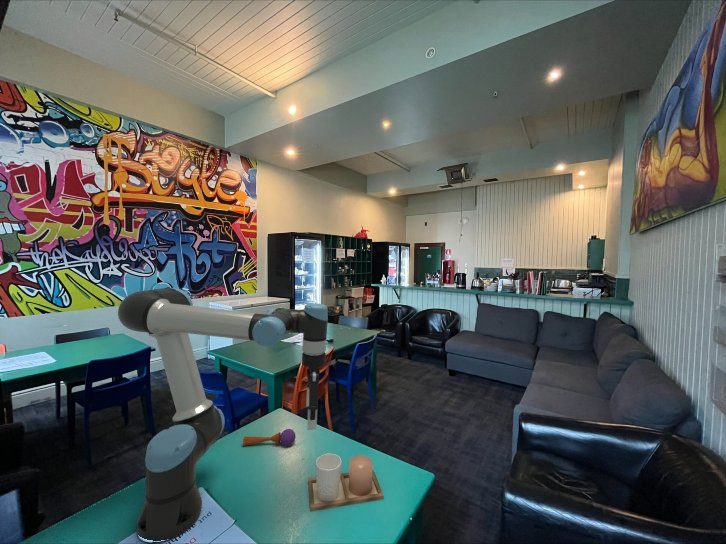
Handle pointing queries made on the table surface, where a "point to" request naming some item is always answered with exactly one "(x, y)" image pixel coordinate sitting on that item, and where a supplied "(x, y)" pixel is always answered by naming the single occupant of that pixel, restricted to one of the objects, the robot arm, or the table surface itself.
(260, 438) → the kendama
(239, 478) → the table surface
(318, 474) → the white cup
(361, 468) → the pink round cylinder
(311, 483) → the wooden divided tray
